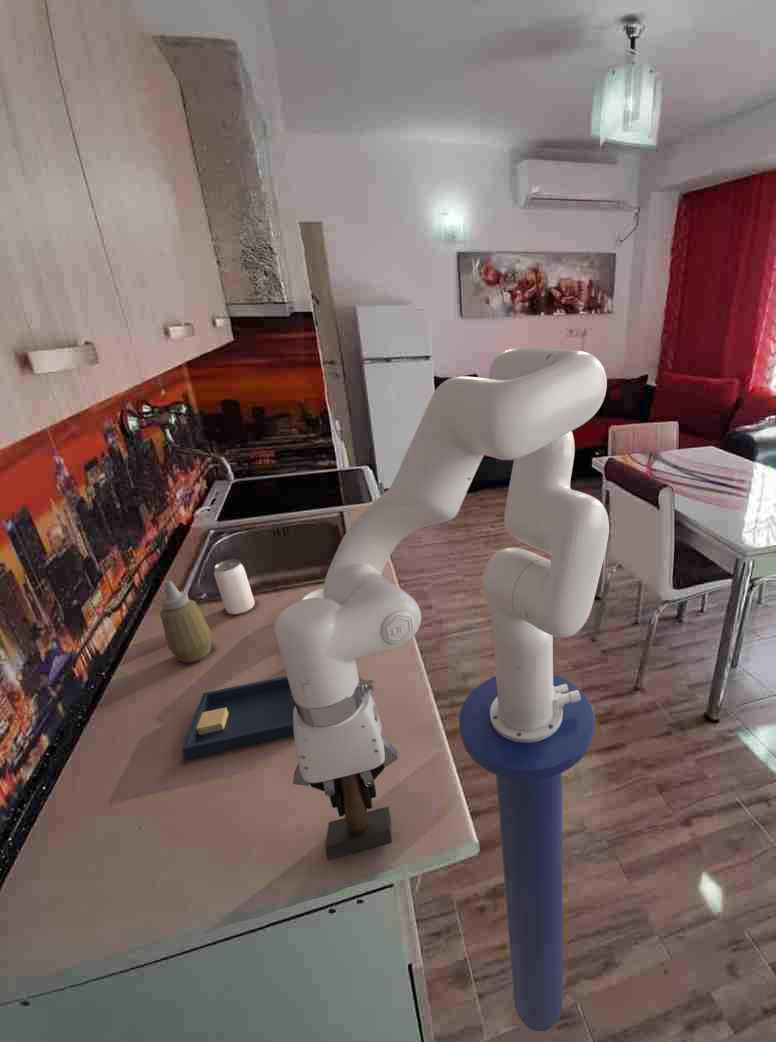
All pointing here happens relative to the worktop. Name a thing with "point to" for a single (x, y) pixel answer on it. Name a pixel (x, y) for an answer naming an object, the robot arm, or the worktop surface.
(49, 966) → the worktop surface
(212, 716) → the yellow square block
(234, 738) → the tray
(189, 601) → the squeeze bottle
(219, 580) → the can
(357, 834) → the stamp with brown handle
